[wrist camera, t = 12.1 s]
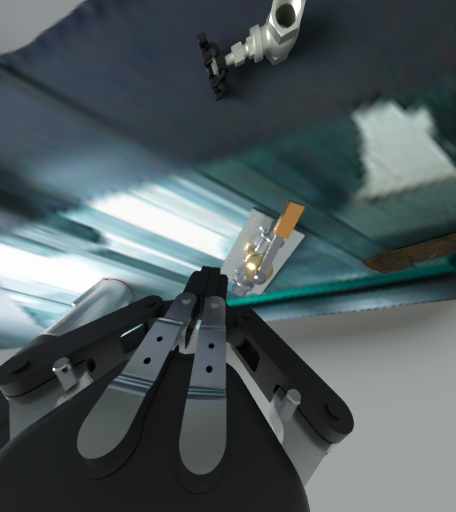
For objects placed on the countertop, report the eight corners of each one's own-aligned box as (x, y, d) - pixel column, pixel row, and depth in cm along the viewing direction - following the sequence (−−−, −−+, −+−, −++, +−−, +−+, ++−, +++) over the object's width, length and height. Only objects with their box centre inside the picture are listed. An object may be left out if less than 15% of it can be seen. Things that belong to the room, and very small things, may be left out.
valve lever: (262, 281, 33) (263, 287, 31) (250, 277, 33) (250, 283, 31) (301, 204, 26) (305, 207, 24) (286, 199, 25) (289, 201, 24)
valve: (288, 3, 22) (203, 52, 25) (303, -54, 16) (191, 18, 19) (296, 70, 25) (219, 107, 28) (311, 41, 19) (212, 92, 22)
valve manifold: (217, 272, 43) (212, 294, 36) (252, 207, 34) (254, 218, 27) (259, 291, 44) (262, 315, 37) (302, 232, 36) (316, 249, 29)
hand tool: (473, 221, 32) (506, 229, 28) (469, 240, 34) (499, 250, 30) (360, 250, 37) (374, 261, 33) (361, 265, 39) (375, 277, 34)
